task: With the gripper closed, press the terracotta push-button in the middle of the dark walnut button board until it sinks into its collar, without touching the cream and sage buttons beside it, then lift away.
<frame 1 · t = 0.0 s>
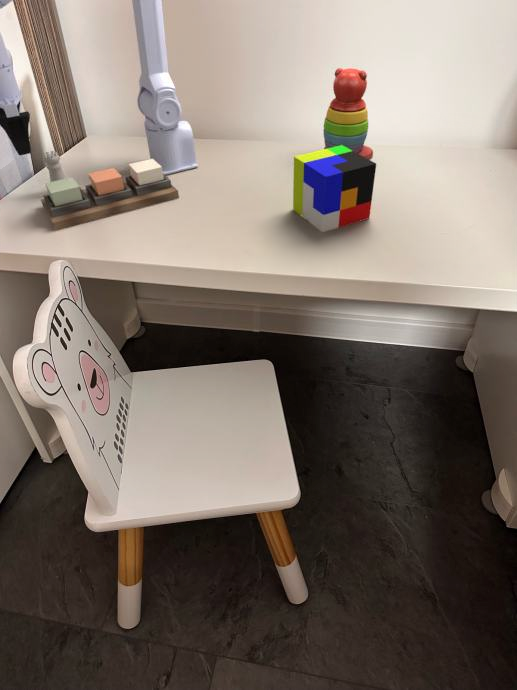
hand: (21, 147, 93), 10 cm above the table, fingers open, 7 cm apart
puzzle toy: (330, 215, 91), on the table
terracotta button: (106, 181, 95), point 4 cm above the table, slide at 0.0 cm
rook chess piece: (62, 193, 102), on the table
sage button: (64, 191, 92), point 4 cm above the table, slide at 0.0 cm
stacking bear: (343, 158, 111), on the table
cream button: (146, 171, 97), point 4 cm above the table, slide at 0.0 cm
button board: (111, 202, 97), on the table
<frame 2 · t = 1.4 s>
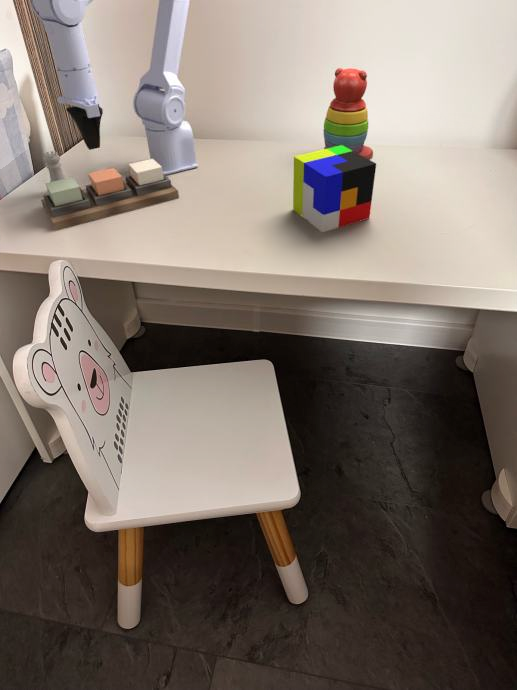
hand: (93, 147, 94), 9 cm above the table, fingers closed
nothing on the table moved.
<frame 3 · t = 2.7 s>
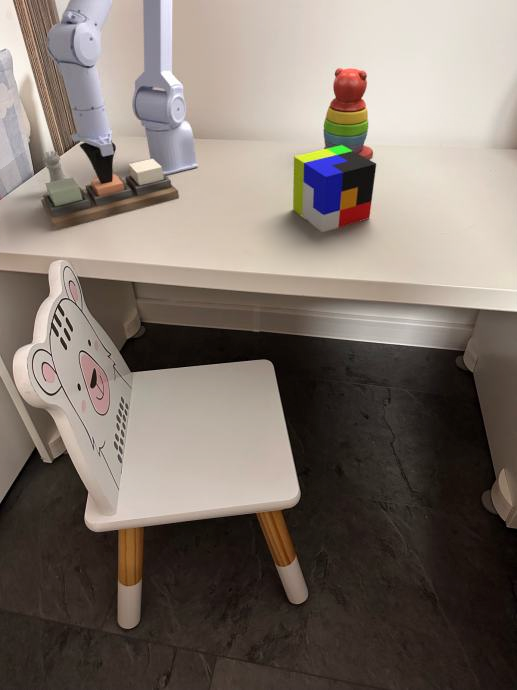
hand: (106, 181, 95), 4 cm above the table, fingers closed, pressing on terracotta button
terracotta button: (107, 187, 95), point 3 cm above the table, slide at 1.3 cm, touching gripper
everything else where it was.
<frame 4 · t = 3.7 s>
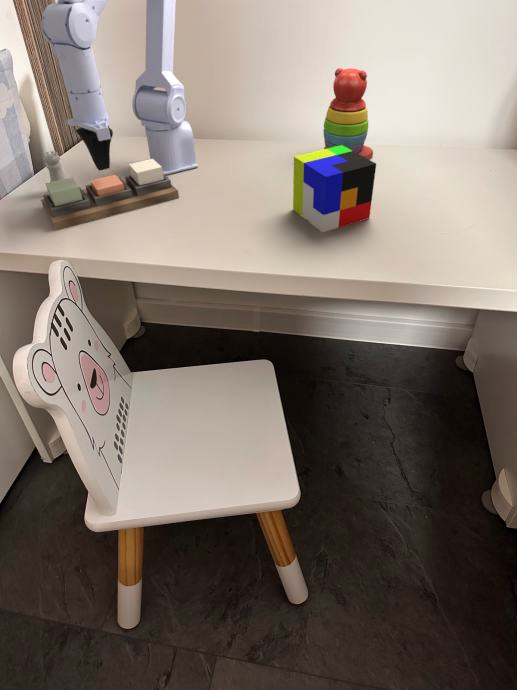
hand: (103, 168, 93), 7 cm above the table, fingers closed
terracotta button: (108, 188, 96), point 3 cm above the table, slide at 1.4 cm
everything else where it was.
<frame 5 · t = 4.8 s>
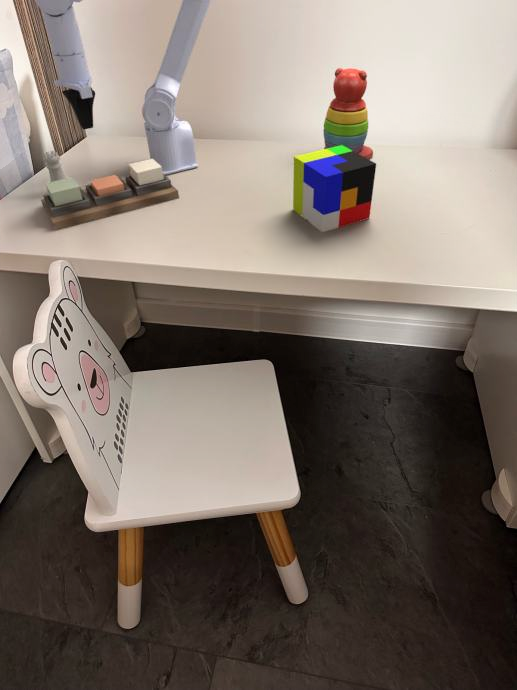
hand: (87, 127, 102), 9 cm above the table, fingers closed
nothing on the table moved.
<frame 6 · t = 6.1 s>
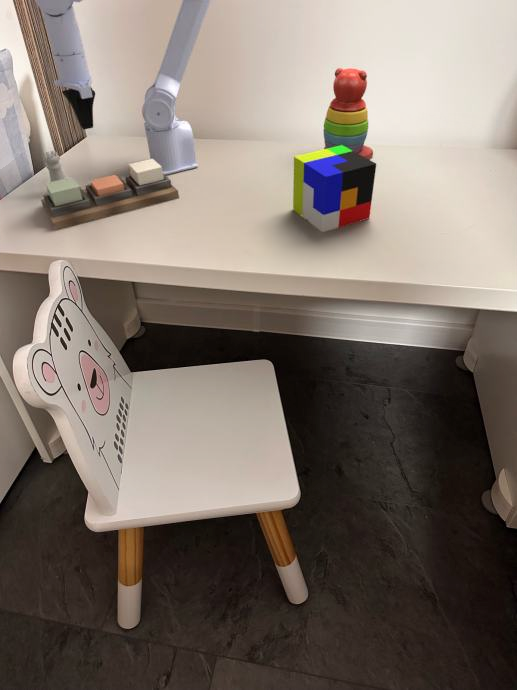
hand: (87, 127, 102), 9 cm above the table, fingers closed
nothing on the table moved.
at the end: terracotta button slide at 1.4 cm; cream button slide at 0.0 cm; sage button slide at 0.0 cm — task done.
